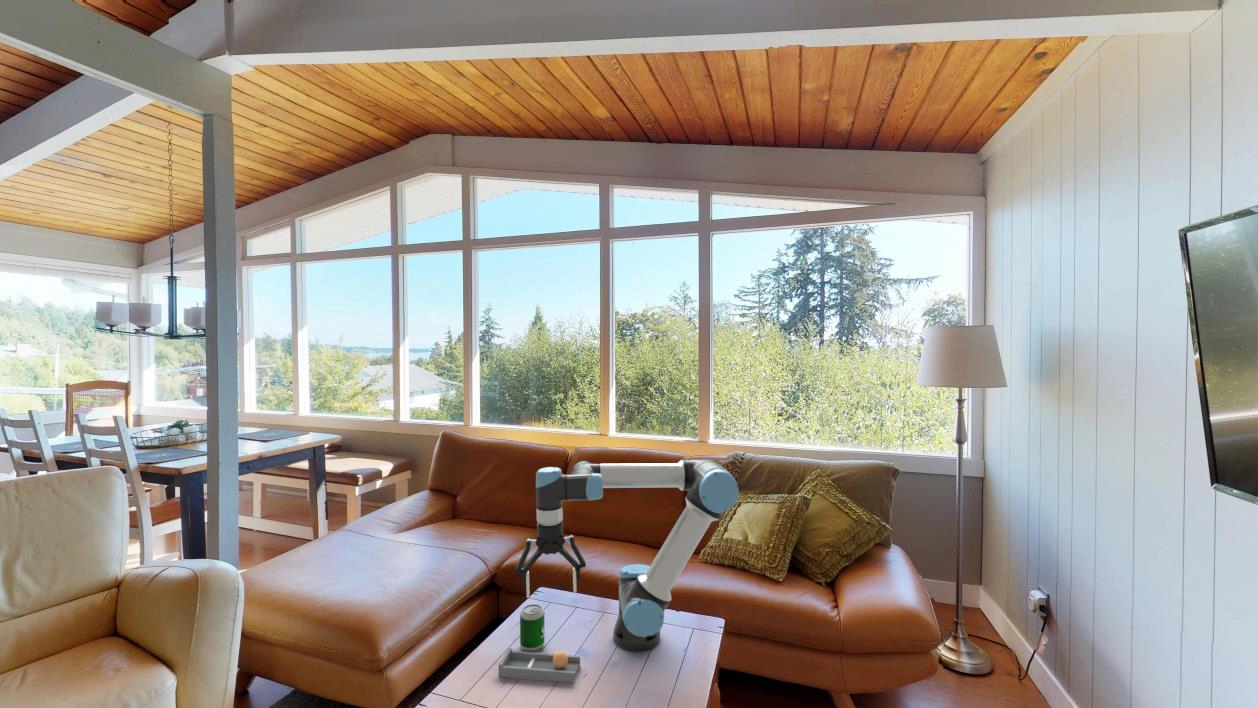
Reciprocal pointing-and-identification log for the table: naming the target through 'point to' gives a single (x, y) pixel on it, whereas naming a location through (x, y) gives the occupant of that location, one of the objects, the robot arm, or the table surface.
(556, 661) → the ball
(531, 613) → the soda can
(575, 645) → the table surface
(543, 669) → the lane
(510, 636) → the table surface
